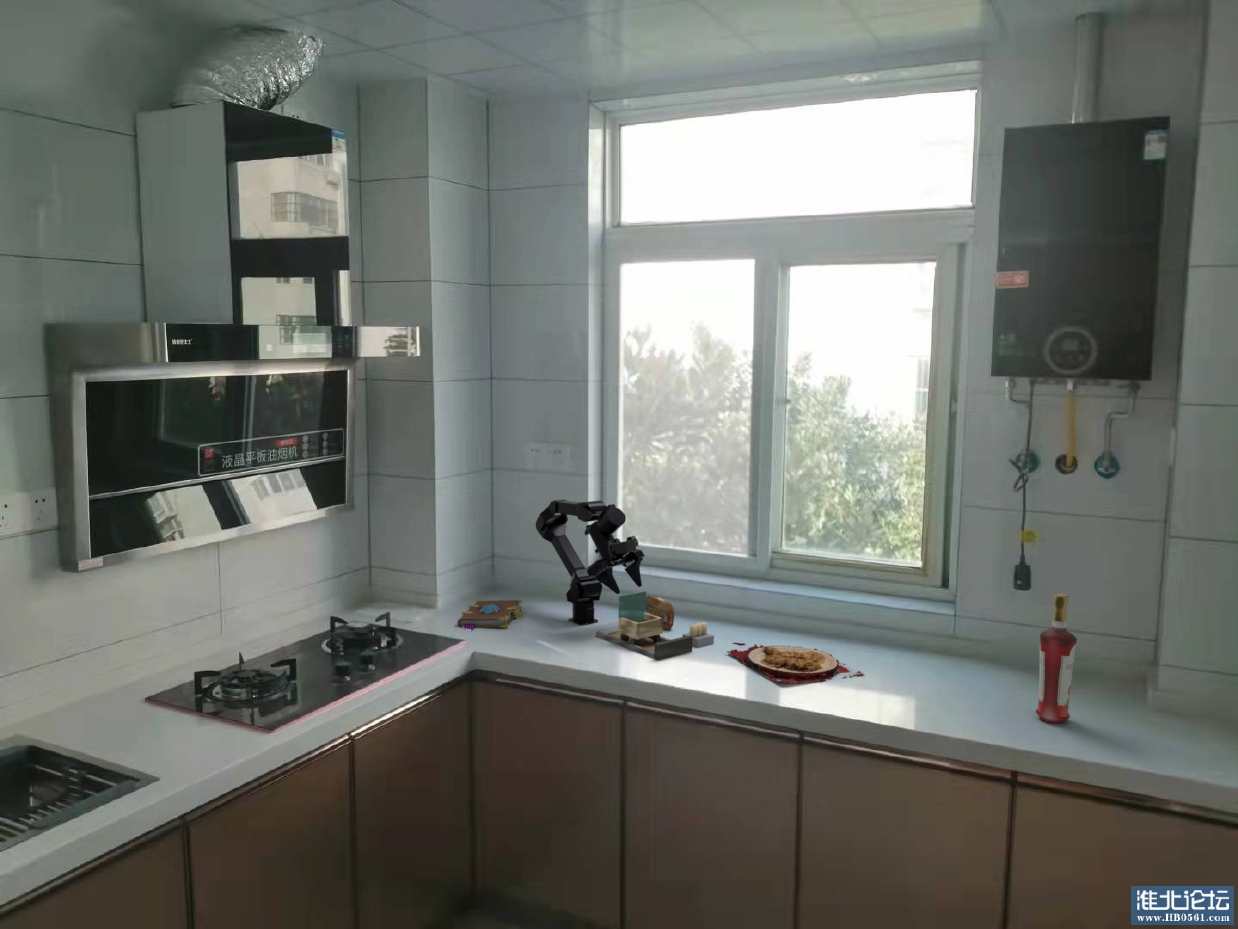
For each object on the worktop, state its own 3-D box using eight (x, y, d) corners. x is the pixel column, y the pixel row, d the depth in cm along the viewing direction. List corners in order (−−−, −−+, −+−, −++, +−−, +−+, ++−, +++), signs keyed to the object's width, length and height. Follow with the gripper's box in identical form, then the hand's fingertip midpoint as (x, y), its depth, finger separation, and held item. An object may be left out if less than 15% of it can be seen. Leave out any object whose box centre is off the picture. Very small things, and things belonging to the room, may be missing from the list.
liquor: (1039, 710, 215) (1048, 589, 211) (1074, 719, 210) (1083, 595, 207) (1029, 720, 209) (1038, 596, 206) (1065, 728, 204) (1074, 602, 201)
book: (452, 635, 268) (451, 618, 267) (475, 611, 292) (474, 596, 292) (509, 635, 266) (508, 618, 265) (527, 611, 290) (527, 595, 290)
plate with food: (781, 691, 227) (782, 676, 226) (726, 655, 251) (727, 642, 250) (865, 680, 236) (866, 666, 236) (805, 646, 261) (805, 634, 260)
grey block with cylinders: (682, 645, 258) (682, 623, 258) (698, 641, 262) (698, 619, 261) (697, 650, 254) (698, 628, 253) (713, 646, 258) (714, 624, 257)
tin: (642, 620, 281) (642, 592, 280) (651, 619, 283) (652, 591, 282) (665, 634, 268) (666, 605, 267) (675, 633, 269) (676, 604, 268)
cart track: (595, 638, 263) (595, 621, 262) (628, 631, 270) (628, 614, 270) (658, 663, 243) (658, 645, 242) (692, 654, 250) (692, 636, 250)
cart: (618, 641, 257) (618, 595, 256) (643, 635, 263) (644, 590, 262) (637, 648, 251) (638, 601, 250) (662, 642, 257) (663, 596, 255)
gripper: (598, 533, 256) (624, 584, 252) (643, 522, 270) (668, 570, 266) (575, 552, 263) (600, 602, 259) (620, 540, 277) (644, 587, 273)
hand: (629, 590), depth 264 cm, fingers open, 9 cm apart
